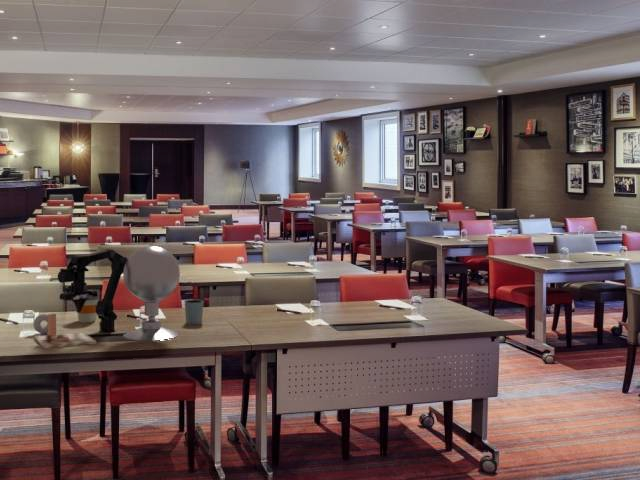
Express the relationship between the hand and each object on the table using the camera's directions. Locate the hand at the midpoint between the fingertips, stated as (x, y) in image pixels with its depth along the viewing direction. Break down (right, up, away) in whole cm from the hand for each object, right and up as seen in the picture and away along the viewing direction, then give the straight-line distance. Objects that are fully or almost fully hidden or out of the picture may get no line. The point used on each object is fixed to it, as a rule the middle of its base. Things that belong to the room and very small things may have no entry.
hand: (79, 312), depth 418 cm
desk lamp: (+34, -12, +8) cm, 37 cm away
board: (-4, -13, -11) cm, 17 cm away
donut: (-19, -11, +5) cm, 23 cm away
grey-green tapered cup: (+51, -10, +41) cm, 66 cm away
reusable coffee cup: (-7, -8, +39) cm, 40 cm away
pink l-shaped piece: (-7, -12, -13) cm, 19 cm away
